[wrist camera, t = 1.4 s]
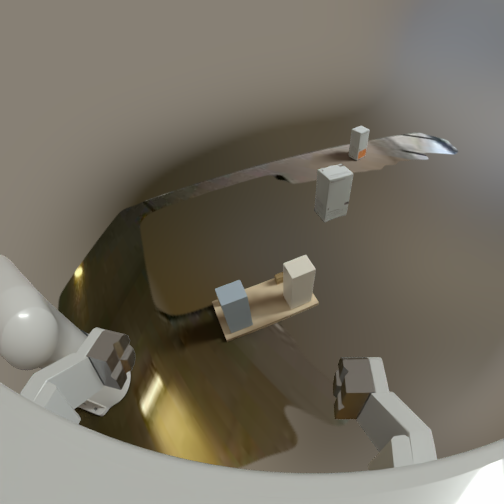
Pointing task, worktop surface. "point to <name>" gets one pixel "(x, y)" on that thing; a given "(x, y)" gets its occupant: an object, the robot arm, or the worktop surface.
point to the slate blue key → (235, 306)
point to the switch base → (263, 307)
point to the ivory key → (298, 281)
